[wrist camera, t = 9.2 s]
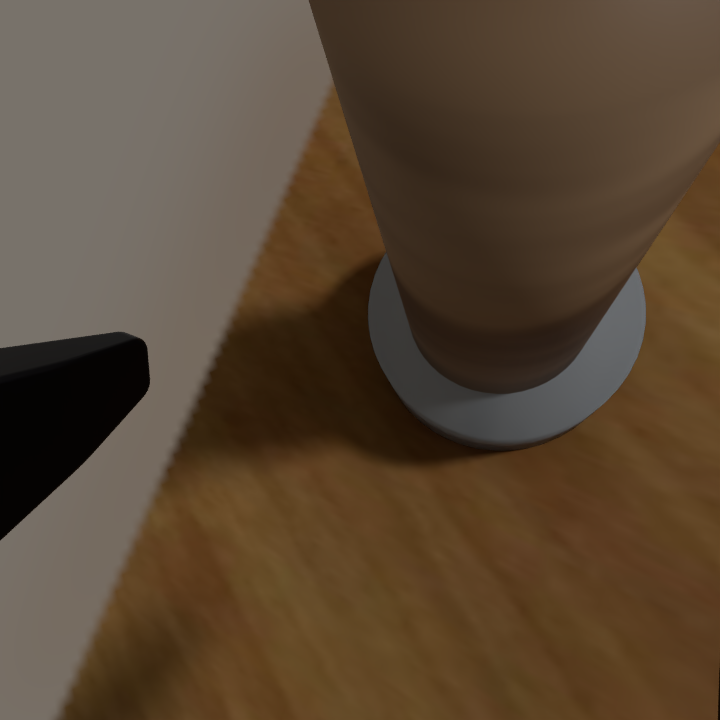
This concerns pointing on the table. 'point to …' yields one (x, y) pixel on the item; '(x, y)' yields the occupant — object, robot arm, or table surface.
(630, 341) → the slate pedestal
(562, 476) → the table surface
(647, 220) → the walnut cylinder
